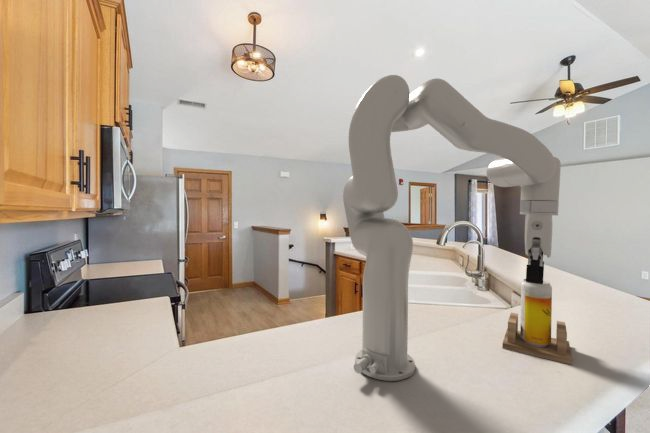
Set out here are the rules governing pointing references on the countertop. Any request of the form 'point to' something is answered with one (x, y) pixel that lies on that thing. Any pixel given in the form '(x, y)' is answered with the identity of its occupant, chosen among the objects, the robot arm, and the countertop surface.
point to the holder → (553, 351)
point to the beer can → (536, 313)
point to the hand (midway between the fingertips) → (534, 279)
